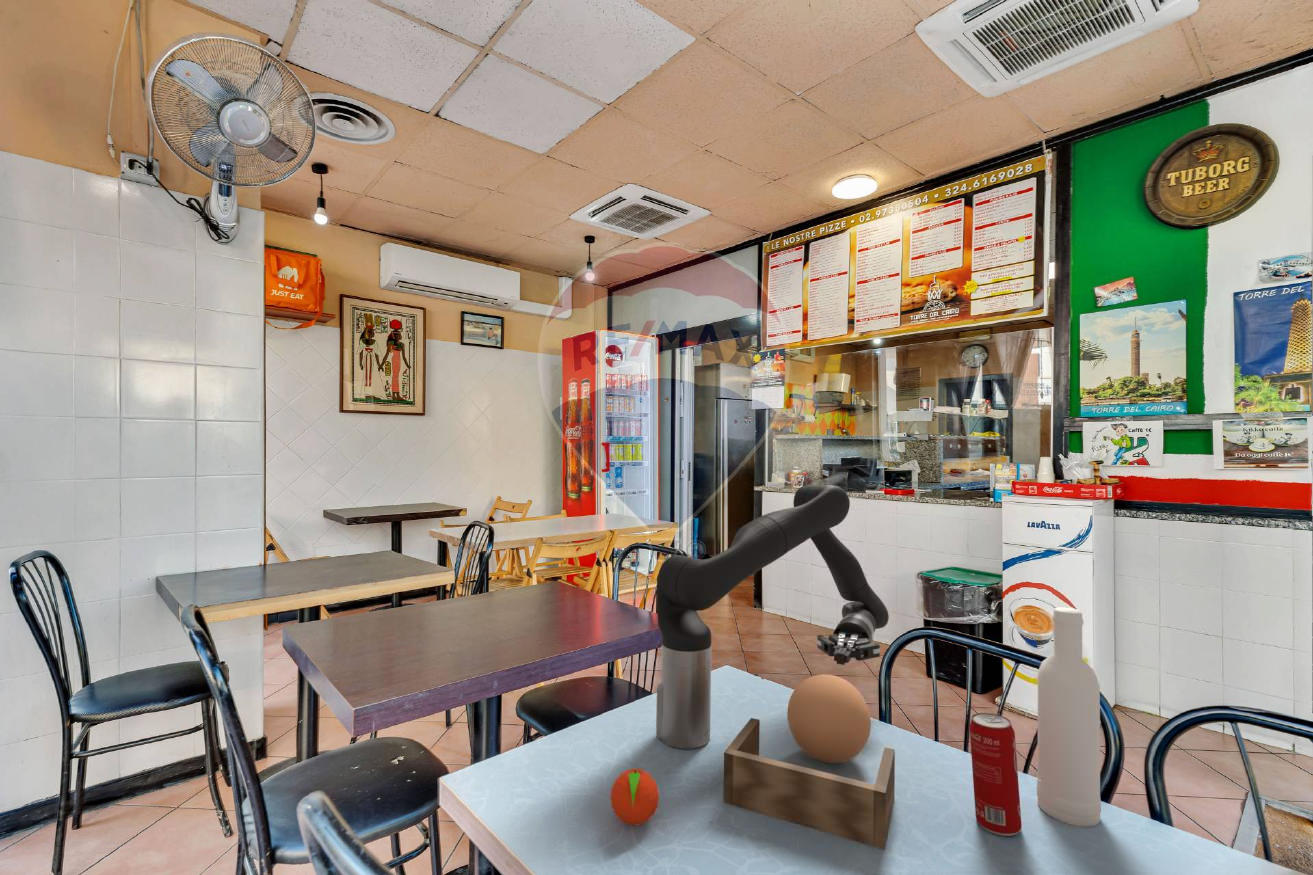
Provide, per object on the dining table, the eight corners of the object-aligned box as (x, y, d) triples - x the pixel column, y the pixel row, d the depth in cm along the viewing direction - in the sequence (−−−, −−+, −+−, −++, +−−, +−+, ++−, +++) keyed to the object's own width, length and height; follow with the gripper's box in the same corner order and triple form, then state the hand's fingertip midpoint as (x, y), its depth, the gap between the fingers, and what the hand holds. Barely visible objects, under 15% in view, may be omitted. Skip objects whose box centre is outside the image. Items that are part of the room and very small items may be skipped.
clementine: (658, 841, 81) (658, 788, 82) (607, 840, 81) (607, 787, 82) (658, 807, 89) (659, 758, 90) (612, 805, 89) (613, 757, 90)
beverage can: (1028, 841, 83) (1028, 731, 83) (977, 834, 84) (977, 726, 84) (1011, 815, 89) (1011, 713, 89) (964, 809, 90) (964, 708, 90)
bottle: (1042, 819, 88) (1042, 613, 89) (1031, 791, 95) (1031, 601, 96) (1108, 833, 85) (1107, 619, 85) (1092, 803, 92) (1092, 606, 93)
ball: (777, 766, 101) (778, 682, 102) (797, 732, 114) (798, 658, 114) (864, 788, 95) (865, 699, 96) (875, 749, 108) (875, 671, 108)
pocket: (723, 802, 91) (723, 752, 91) (750, 762, 103) (751, 717, 103) (885, 849, 80) (885, 792, 81) (894, 798, 92) (894, 749, 93)
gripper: (823, 612, 133) (805, 634, 118) (886, 620, 128) (876, 644, 112) (823, 646, 133) (805, 673, 118) (886, 656, 127) (877, 685, 112)
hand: (840, 659), depth 115 cm, fingers closed
